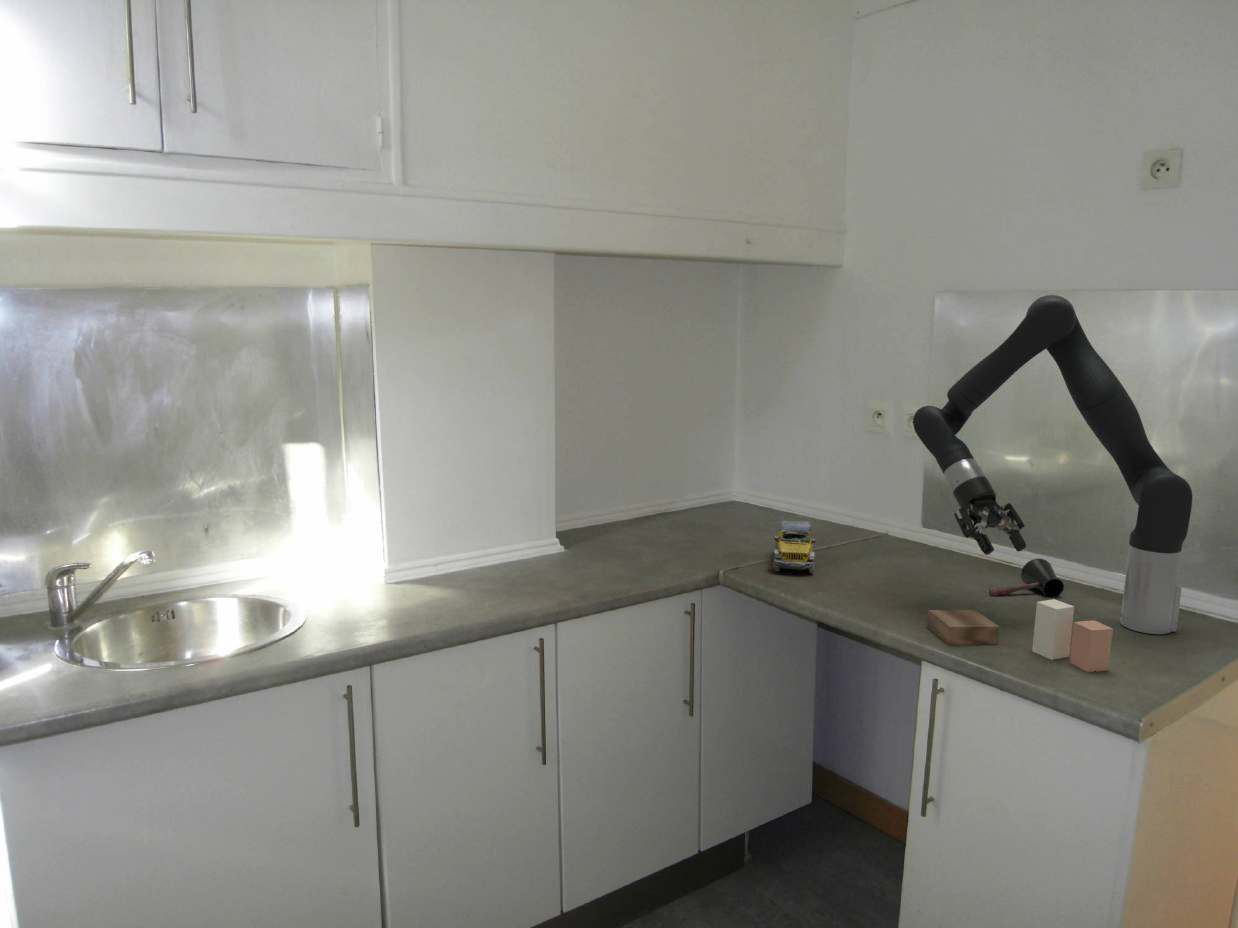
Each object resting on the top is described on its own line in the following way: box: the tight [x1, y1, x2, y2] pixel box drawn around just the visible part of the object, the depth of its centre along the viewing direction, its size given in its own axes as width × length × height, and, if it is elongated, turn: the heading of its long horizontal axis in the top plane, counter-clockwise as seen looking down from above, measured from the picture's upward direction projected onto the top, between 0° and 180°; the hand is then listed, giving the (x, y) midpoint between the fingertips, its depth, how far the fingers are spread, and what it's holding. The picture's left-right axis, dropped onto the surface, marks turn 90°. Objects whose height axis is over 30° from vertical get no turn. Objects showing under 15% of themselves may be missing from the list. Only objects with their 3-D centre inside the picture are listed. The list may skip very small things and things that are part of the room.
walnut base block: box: [926, 609, 1000, 646], centre depth 174 cm, size 10×10×4 cm
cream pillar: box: [1031, 598, 1075, 661], centre depth 164 cm, size 4×4×10 cm
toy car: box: [772, 520, 816, 575], centre depth 223 cm, size 10×22×10 cm, turn 168°
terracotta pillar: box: [1069, 620, 1114, 673], centre depth 159 cm, size 4×4×8 cm
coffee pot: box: [988, 558, 1065, 598], centre depth 203 cm, size 8×18×8 cm
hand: (1006, 551), depth 174 cm, fingers open, 8 cm apart
